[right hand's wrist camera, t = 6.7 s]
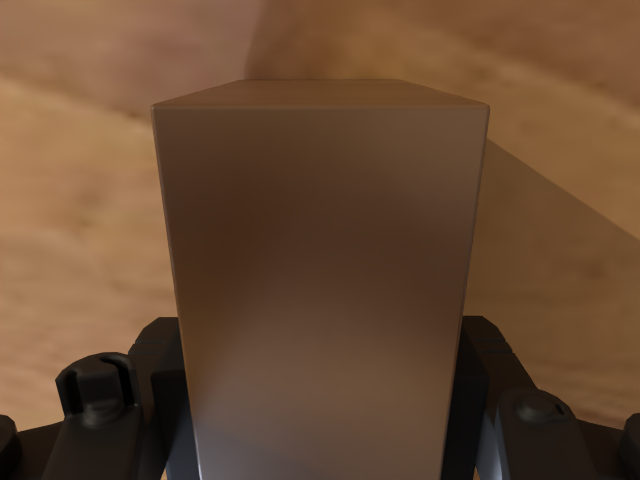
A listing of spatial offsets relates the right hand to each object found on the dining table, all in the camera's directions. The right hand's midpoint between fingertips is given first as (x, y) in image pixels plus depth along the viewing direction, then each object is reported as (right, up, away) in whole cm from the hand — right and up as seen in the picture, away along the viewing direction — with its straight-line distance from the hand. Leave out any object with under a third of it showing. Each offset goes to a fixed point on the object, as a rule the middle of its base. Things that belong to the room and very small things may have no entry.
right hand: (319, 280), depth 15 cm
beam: (0, -18, +8) cm, 20 cm away
